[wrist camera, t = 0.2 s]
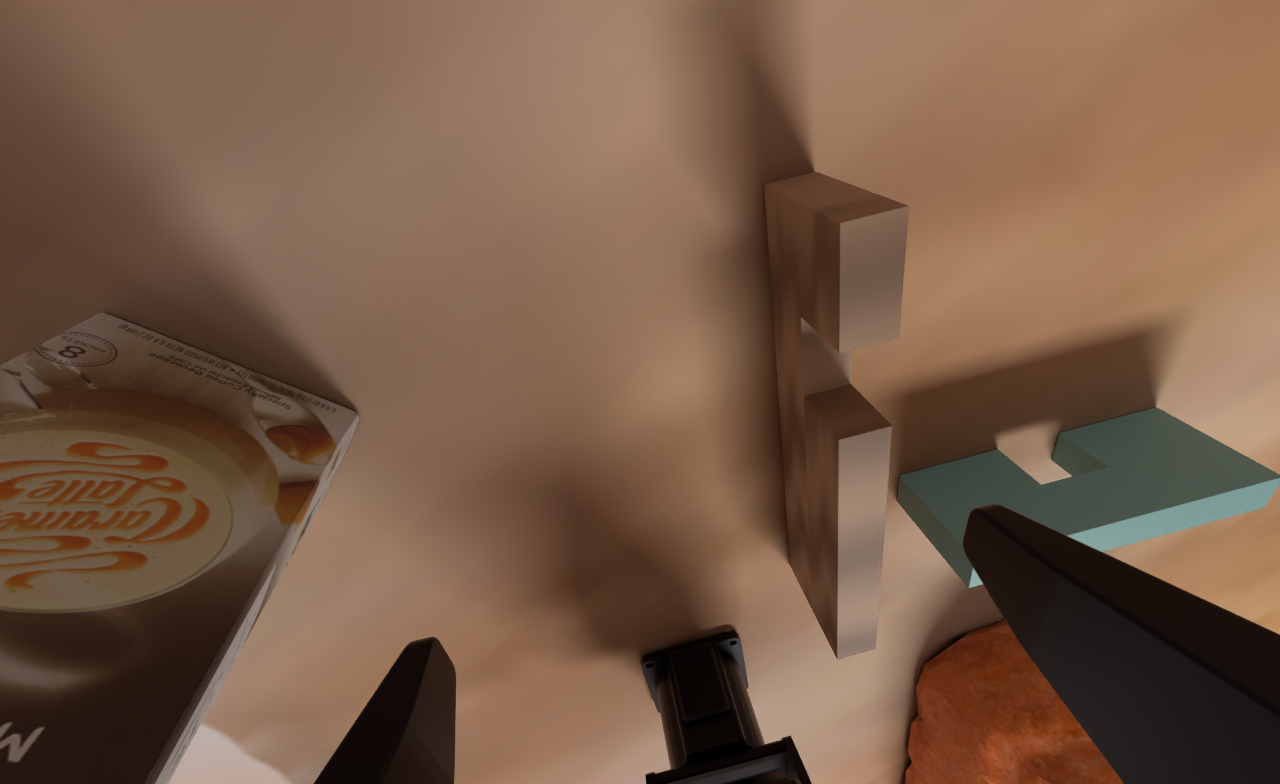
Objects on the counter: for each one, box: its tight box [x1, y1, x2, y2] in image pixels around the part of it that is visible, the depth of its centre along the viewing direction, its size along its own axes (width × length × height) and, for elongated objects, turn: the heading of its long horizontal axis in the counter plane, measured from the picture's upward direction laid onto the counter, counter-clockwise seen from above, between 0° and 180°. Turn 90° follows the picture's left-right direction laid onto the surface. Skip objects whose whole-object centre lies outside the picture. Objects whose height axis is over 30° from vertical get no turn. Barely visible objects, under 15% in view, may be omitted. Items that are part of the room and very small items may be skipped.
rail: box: [764, 172, 909, 659], centre depth 23 cm, size 22×2×6 cm, turn 11°
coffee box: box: [0, 313, 359, 784], centre depth 15 cm, size 9×6×16 cm
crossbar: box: [897, 407, 1280, 588], centre depth 27 cm, size 15×2×6 cm, turn 101°
